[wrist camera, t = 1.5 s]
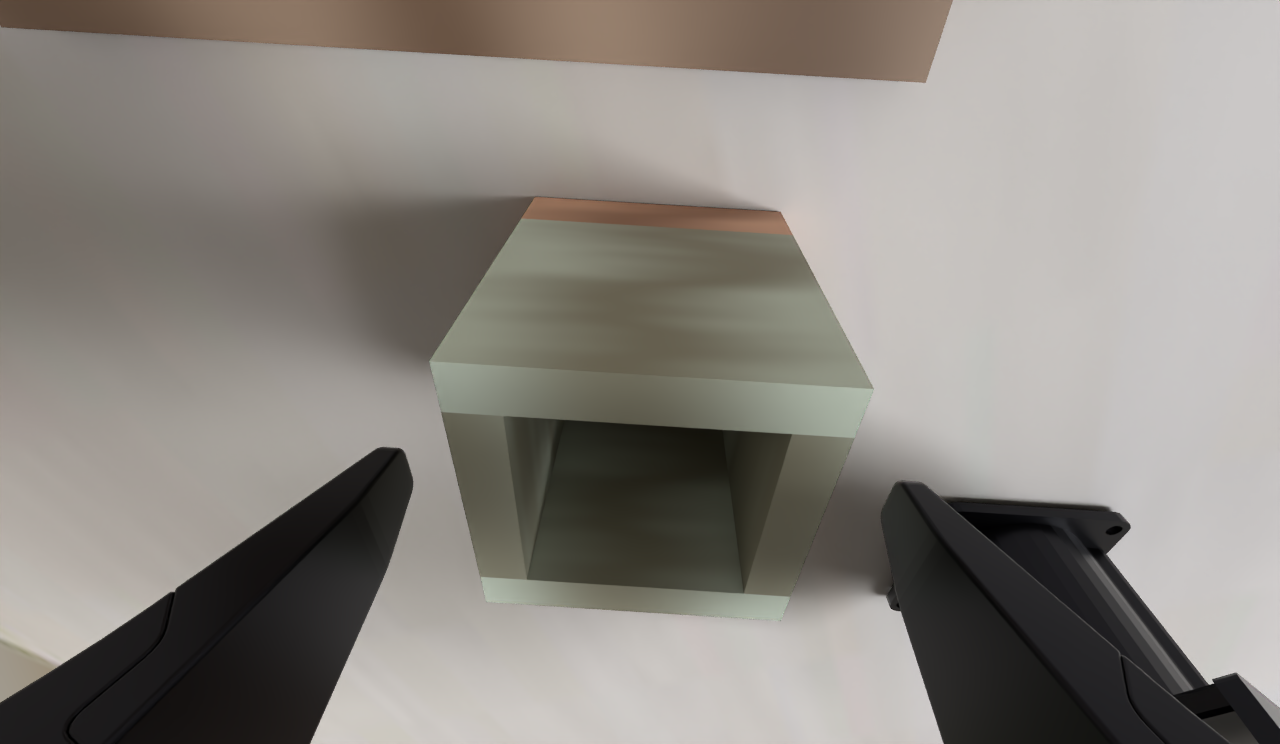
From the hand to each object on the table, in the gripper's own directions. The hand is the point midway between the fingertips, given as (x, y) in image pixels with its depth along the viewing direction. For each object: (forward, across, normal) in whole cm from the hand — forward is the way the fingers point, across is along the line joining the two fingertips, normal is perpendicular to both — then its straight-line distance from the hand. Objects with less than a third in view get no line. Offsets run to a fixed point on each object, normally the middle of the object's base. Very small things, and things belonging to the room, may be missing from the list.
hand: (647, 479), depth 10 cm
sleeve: (+6, 0, 0) cm, 6 cm away
